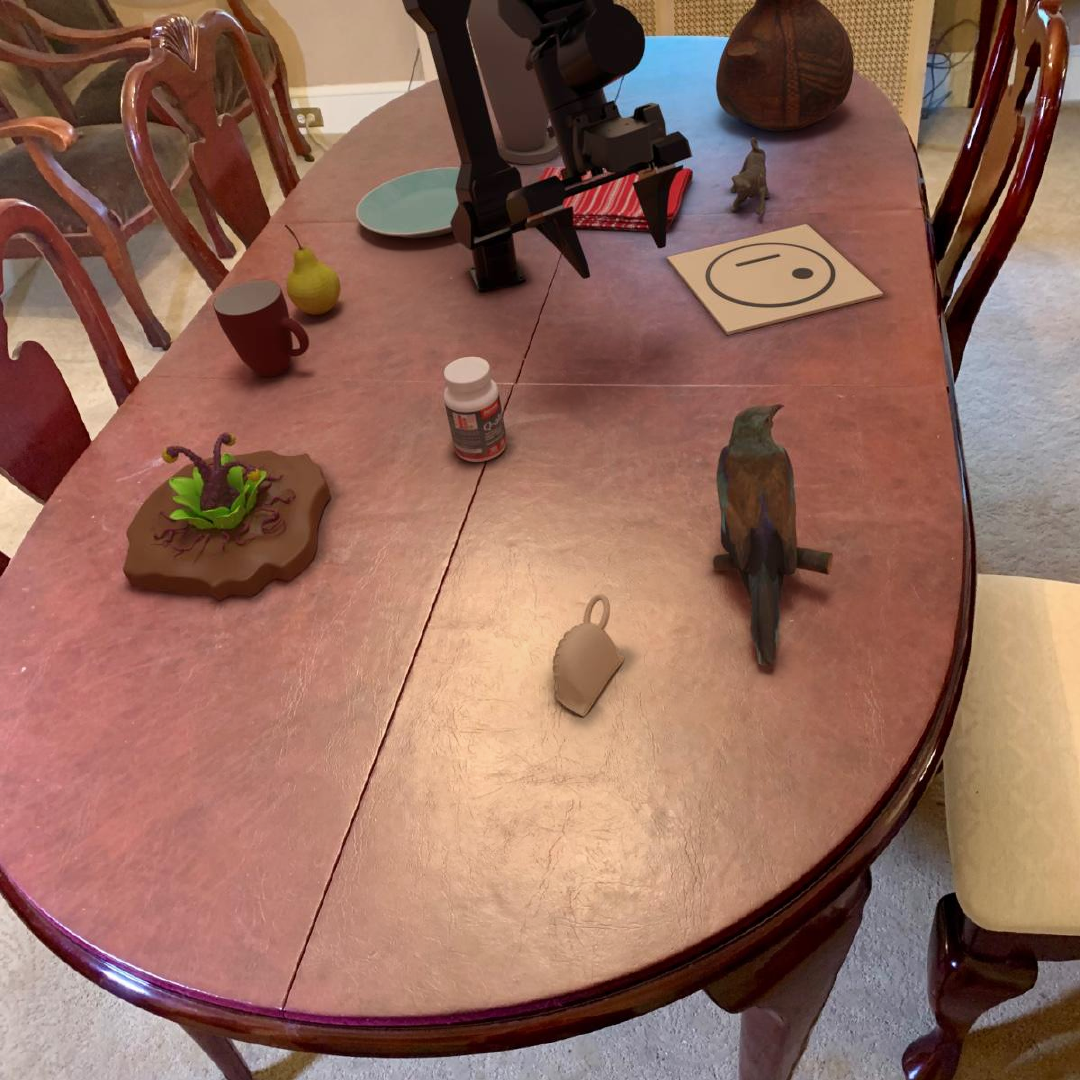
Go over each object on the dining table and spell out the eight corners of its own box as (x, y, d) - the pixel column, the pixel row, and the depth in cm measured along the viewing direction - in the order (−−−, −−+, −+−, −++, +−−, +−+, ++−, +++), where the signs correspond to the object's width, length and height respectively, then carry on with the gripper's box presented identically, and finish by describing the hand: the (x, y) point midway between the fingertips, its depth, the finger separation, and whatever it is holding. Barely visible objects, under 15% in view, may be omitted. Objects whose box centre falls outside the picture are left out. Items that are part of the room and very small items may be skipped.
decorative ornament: (540, 698, 76) (533, 657, 73) (594, 629, 81) (590, 587, 77) (582, 719, 75) (577, 678, 71) (635, 647, 79) (632, 605, 75)
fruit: (356, 307, 125) (332, 222, 117) (316, 330, 122) (288, 245, 114) (325, 292, 129) (300, 209, 121) (285, 315, 126) (256, 231, 117)
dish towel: (673, 234, 130) (673, 216, 128) (512, 227, 137) (510, 210, 135) (696, 179, 141) (696, 162, 139) (547, 176, 148) (545, 159, 146)
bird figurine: (842, 670, 74) (848, 416, 70) (715, 669, 76) (712, 421, 71) (821, 617, 87) (824, 400, 82) (713, 618, 89) (710, 405, 84)
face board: (666, 260, 125) (666, 255, 124) (806, 227, 127) (806, 221, 127) (726, 335, 111) (727, 329, 110) (882, 296, 113) (883, 290, 112)
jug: (712, 97, 164) (716, -108, 143) (841, 88, 160) (864, -123, 139) (711, 148, 148) (715, -72, 128) (853, 141, 145) (881, -87, 124)
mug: (333, 352, 118) (311, 280, 111) (307, 390, 112) (282, 317, 105) (258, 349, 120) (232, 278, 113) (229, 386, 115) (200, 314, 108)
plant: (170, 471, 104) (128, 388, 96) (342, 460, 102) (314, 374, 94) (105, 608, 90) (50, 523, 82) (304, 597, 88) (266, 510, 80)
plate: (332, 244, 139) (327, 226, 137) (402, 179, 153) (398, 162, 151) (465, 257, 132) (462, 238, 130) (526, 188, 146) (524, 170, 144)
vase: (581, 142, 156) (561, -108, 132) (539, 174, 149) (510, -85, 124) (515, 133, 162) (485, -108, 138) (472, 163, 155) (432, -86, 130)
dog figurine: (732, 185, 139) (733, 134, 133) (772, 185, 137) (775, 133, 132) (722, 223, 131) (723, 170, 125) (765, 224, 129) (768, 170, 124)
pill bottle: (500, 465, 98) (486, 387, 91) (449, 463, 99) (431, 385, 93) (512, 431, 102) (500, 354, 95) (462, 429, 103) (446, 353, 97)
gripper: (524, 111, 80) (582, 288, 85) (700, 52, 86) (744, 222, 91) (480, 139, 91) (534, 296, 95) (640, 85, 96) (683, 236, 101)
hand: (625, 262), depth 95 cm, fingers open, 9 cm apart
